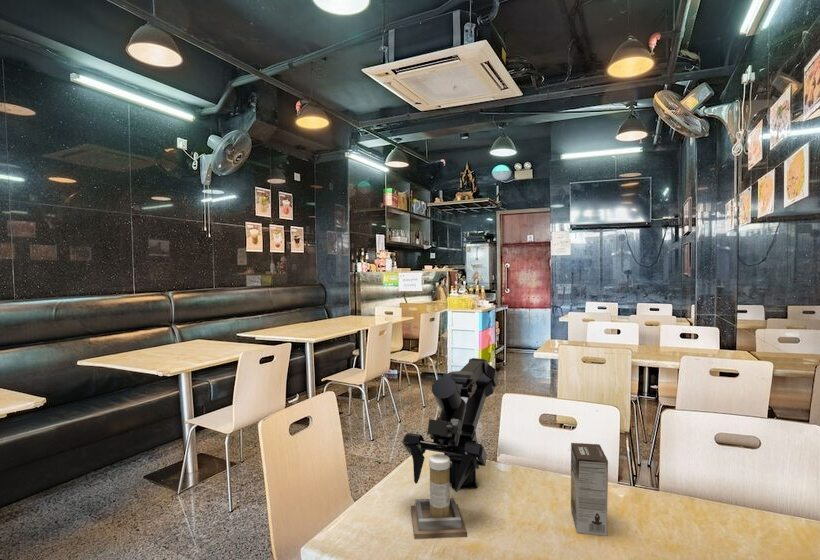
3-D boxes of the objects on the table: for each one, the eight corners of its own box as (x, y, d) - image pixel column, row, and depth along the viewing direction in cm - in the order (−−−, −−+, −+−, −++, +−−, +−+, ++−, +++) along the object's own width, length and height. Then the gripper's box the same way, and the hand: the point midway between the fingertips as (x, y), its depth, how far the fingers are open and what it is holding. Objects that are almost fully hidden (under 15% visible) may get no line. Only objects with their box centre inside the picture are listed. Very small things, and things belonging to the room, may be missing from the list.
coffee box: (569, 510, 102) (570, 441, 102) (599, 513, 101) (599, 443, 100) (576, 533, 93) (576, 458, 93) (608, 537, 92) (609, 460, 91)
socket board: (457, 508, 103) (457, 495, 103) (467, 536, 92) (467, 522, 92) (410, 510, 102) (410, 497, 102) (414, 538, 91) (414, 524, 91)
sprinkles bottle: (437, 510, 100) (437, 451, 100) (454, 517, 97) (453, 456, 97) (425, 519, 97) (424, 458, 96) (442, 526, 94) (442, 463, 94)
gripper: (405, 398, 104) (384, 464, 94) (483, 408, 96) (470, 480, 87) (418, 421, 111) (400, 484, 101) (491, 431, 104) (480, 500, 94)
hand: (435, 486), depth 96 cm, fingers open, 9 cm apart
